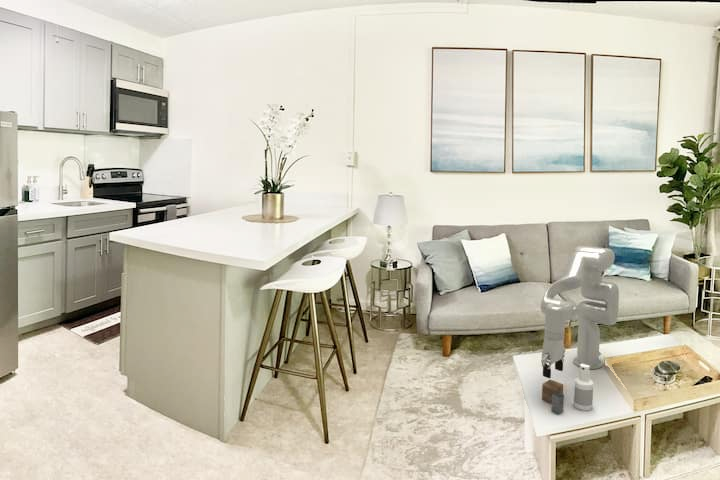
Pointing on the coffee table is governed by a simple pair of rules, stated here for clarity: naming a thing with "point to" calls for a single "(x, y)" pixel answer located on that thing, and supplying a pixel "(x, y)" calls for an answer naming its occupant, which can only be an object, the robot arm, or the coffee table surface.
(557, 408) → the post
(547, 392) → the tan wooden cube
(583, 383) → the spray bottle
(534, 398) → the coffee table surface
